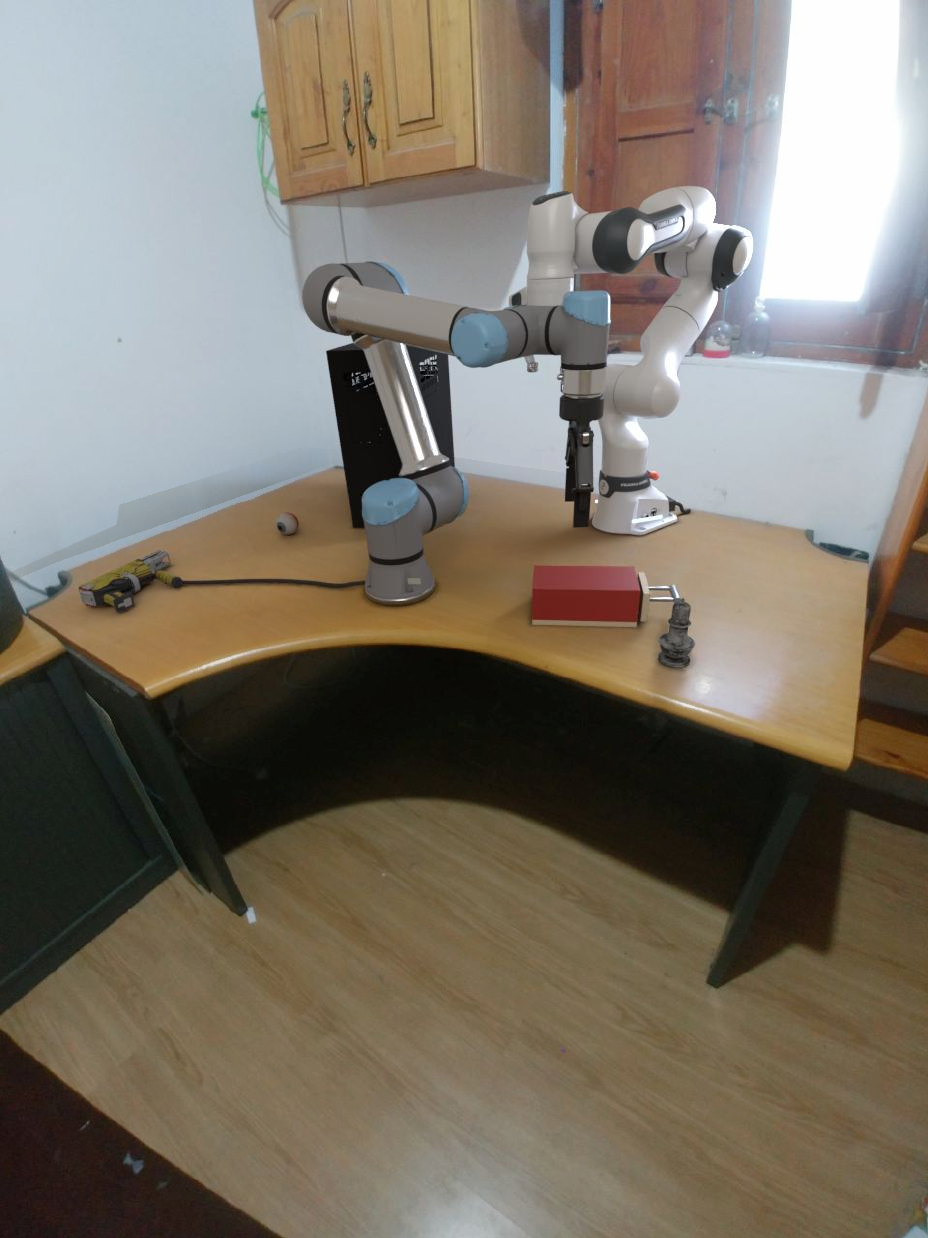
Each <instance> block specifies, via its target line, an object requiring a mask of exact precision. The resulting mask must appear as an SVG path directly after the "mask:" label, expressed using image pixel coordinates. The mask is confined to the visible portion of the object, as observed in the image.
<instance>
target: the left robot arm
mask: <svg viewBox="0 0 928 1238" xmlns="http://www.w3.org/2000/svg"><path fill="white" fill-rule="evenodd" d="M301 298H302V299H301V300H302V306H303V308H304V311H305V314H306V316H307V317H308V319H309V320H310V322H311V323H312V324H313V325H314V326H316V327H317V328H319V330H321V331H324V332H326V333H331V334H336V335H340V336H343V337H351V340H352V343H354V345H355V346H357V347H358V348H360V349H362V350H363V351H364V353H365V356H366V359H367V362H368V365H369V368H370V371H371V373H370V374H372V375H371V377H373V379H374V382H375V385H376V388H377V391H378V394H379V397H380V400H381V403H382V406H383V409H384V412H385V415H386V418H387V421H388V424H389V427H390V430H391V433H392V436H393V439H394V442H395V444H396V447H397V450H398V453H399V456H400V459H401V462H402V468H401V470H400V472H399V478H393V479H390V480H388V481H386V480H384V481H381V482H378V483H376V484H374V485H372V486H370V487H369V488H368V489H367V490H366V491H365V492H364V494H363V496H362V516H363V520H364V526H365V528H364V531H365V532H364V533H365V539H366V543H367V544H366V545H367V551H368V560H369V562H368V567H367V571H366V572H367V573H366V577H365V580H358V581H349V582H342V583H340V582H339V583H338V582H337V583H336V582H333V583H332V582H325V581H318V580H307V579H295V578H294V579H293V578H236V579H235V578H234V579H208V580H182V585H190V586H191V585H224V584H226V585H227V584H247V583H248V584H252V583H253V584H254V583H257V584H259V583H266V584H267V583H271V584H272V583H277V584H279V583H281V584H299V585H312V586H320V587H327V588H348V587H353V586H354V587H355V586H364V590H365V596H366V598H367V599H368V600H369V601H371V602H372V603H375V604H378V605H381V606H387V607H401V606H407V605H408V606H409V605H412V604H416V603H419V602H422V601H425V600H426V599H427V598H429V597H430V596H432V595H433V593H434V592H435V589H436V582H435V576H434V574H433V572H432V570H431V568H430V567H431V566H430V565H429V563H428V561H427V559H426V556H425V554H424V553H425V552H424V543H423V537H424V536H426V535H427V534H430V533H431V532H433V531H435V530H437V529H439V528H441V527H443V526H445V525H448V524H450V523H452V522H454V521H455V520H456V519H457V518H460V517H461V516H462V515H463V514H464V513H465V511H466V509H467V507H468V506H469V502H470V495H471V492H470V486H469V483H468V479H466V476H465V475H464V473H463V472H460V470H459V469H458V468H456V467H455V468H454V467H451V464H450V461H449V458H448V457H446V456H444V455H442V454H441V453H440V452H439V449H438V446H437V442H436V439H435V436H434V433H433V430H432V427H431V424H430V420H429V417H428V414H427V411H426V408H425V405H424V401H423V398H422V395H421V392H420V389H419V386H418V383H417V379H416V376H415V373H414V370H413V367H412V364H411V360H410V357H409V354H408V351H407V348H406V345H410V346H414V347H418V348H422V349H426V350H430V351H434V352H438V353H443V354H447V355H448V356H451V357H455V358H456V359H457V360H458V362H460V363H461V365H463V366H465V367H467V368H471V369H477V368H490V367H493V366H495V365H497V364H501V363H505V362H507V361H512V360H517V359H520V358H524V357H525V356H529V355H534V356H535V355H536V356H560V367H561V371H562V374H560V373H559V374H557V375H556V380H557V381H560V384H559V385H560V389H559V391H560V393H561V396H560V397H559V404H558V405H559V408H558V409H559V410H558V416H559V418H560V419H561V420H563V421H565V422H568V427H567V438H566V448H565V456H564V460H565V466H566V468H565V482H564V483H565V485H564V486H565V487H564V488H565V489H564V502H565V503H566V502H567V503H568V502H569V503H571V502H573V516H572V528H573V529H574V528H576V529H577V528H589V527H590V515H591V514H590V513H591V501H592V500H591V499H592V493H594V490H595V486H594V438H595V433H594V430H593V429H592V427H591V425H590V424H591V423H592V422H593V421H595V422H596V421H598V420H599V419H601V418H602V417H603V413H604V399H605V397H604V396H603V395H602V393H603V392H604V391H605V388H606V375H607V364H608V362H607V361H608V348H609V338H610V326H611V323H612V320H611V296H610V294H609V292H607V291H605V290H601V289H600V290H598V289H597V290H596V289H595V290H593V289H592V290H574V291H573V292H567V293H566V294H565V295H564V297H563V303H562V305H557V306H527V305H516V306H509V305H508V306H506V307H504V308H502V309H500V310H499V309H498V310H486V309H481V308H476V307H469V306H465V305H460V304H455V303H450V302H445V301H442V300H441V301H440V300H436V299H431V298H426V297H420V296H414V295H411V294H410V291H409V288H408V285H407V282H406V281H405V279H404V277H403V275H401V273H400V272H399V271H398V270H397V269H396V268H395V267H393V266H391V265H390V264H388V263H384V262H377V261H371V260H367V261H363V262H344V263H343V262H342V263H340V262H339V263H335V262H334V263H332V262H331V263H326V264H323V265H319V266H318V267H316V268H315V269H314V270H312V271H311V272H310V273H309V274H308V275H307V277H306V279H305V281H304V285H303V287H302V293H301ZM405 344H406V345H405ZM164 584H166V585H168V584H167V583H164Z"/></svg>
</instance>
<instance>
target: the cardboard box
mask: <svg viewBox="0 0 928 1238" xmlns="http://www.w3.org/2000/svg"><path fill="white" fill-rule="evenodd" d="M405 345H406V344H405ZM406 348H407V351H408V354H409V357H410V360H411V364H412V367H413V370H414V373H415V376H416V379H417V383H418V386H419V389H420V392H421V395H422V398H423V401H424V405H425V408H426V411H427V414H428V417H429V420H430V424H431V427H432V430H433V433H434V436H435V439H436V442H437V446H438V449H439V452H440V453H441V454H442V455H444V456H446V457H448V458H449V461H450V464H451V467H454V468H456V465H455V464H456V462H455V446H454V430H453V429H454V428H453V414H452V413H453V412H452V396H451V380H450V364H449V363H450V362H449V361H450V360H449V355H447V354H443V353H438V352H434V351H430V350H426V349H422V348H418V347H414V346H410V345H406ZM325 354H326V361H327V366H328V374H329V381H330V386H331V392H332V400H333V406H334V407H333V408H334V412H335V421H336V426H337V432H338V439H339V446H340V452H341V459H342V465H343V473H344V478H345V484H346V492H347V499H348V504H349V510H350V517H351V524H352V528H364V529H365V526H364V520H363V516H362V496H363V494H364V492H365V491H366V490H367V489H368V488H369V487H370V486H372V485H374V484H376V483H378V482H381V481H384V480H386V481H388V480H390V479H393V478H399V472H400V470H401V468H402V462H401V459H400V456H399V453H398V450H397V447H396V444H395V442H394V439H393V436H392V433H391V430H390V427H389V424H388V421H387V418H386V415H385V412H384V409H383V406H382V403H381V400H380V397H379V394H378V391H377V388H376V385H375V382H374V379H373V377H372V374H371V371H370V368H369V365H368V362H367V359H366V356H365V353H364V351H363V350H362V349H360V348H358V347H357V346H355V345H354V343H353V342H351V343H347V344H344V345H341V346H338V347H334V348H331V349H328V350H325ZM430 358H431V359H430ZM425 362H426V363H425ZM421 363H423V364H421Z"/></svg>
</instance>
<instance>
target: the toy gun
mask: <svg viewBox="0 0 928 1238" xmlns="http://www.w3.org/2000/svg"><path fill="white" fill-rule="evenodd" d="M166 558H167V559H168V562H167V561H163V559H166ZM171 564H172V563H171V558H170V554H169V552H168V551H166V550H163V551H162V550H161V549H159V550H156V551H155V552H153V553H150V554H148V555H145V556H143V557H142V558H136V559H135V560H133V561H130V562H129V563H126V564H124V565H122V566H120V567H118V568H115V569H113V570H111V571H109V572H107V573H104V574H102V575H101V576H97V577H96V578H93V579H91V580H89V581H87V582H85V583H83V584H81V585H79V586H78V592H79V595H80V599H81V602H82V603H83V604H84V605H85V607H89V608H93V607H105V606H108V605H111V606H112V607H114V610H115V613H116V614H119V613H122V612H124V611H127V610H129V609H131V608H134V607H136V606H135V605H136V604H135V601H134V596H133V595H134V594H136V593H138V592H139V591H141V587H142V586H145V585H147V584H150V583H154V581H155V580H157V581H160V582H162V583H164V584H165V583H167V584H166V585H168V586H172V588H175V589H177V588H180V587H181V586H182V585H183V584H182V581H183V579H182V578H181V577H180V576H175V575H174V574H170V573H168V572H167V571H164V568H166V567H169V566H171Z"/></svg>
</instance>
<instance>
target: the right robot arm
mask: <svg viewBox="0 0 928 1238" xmlns="http://www.w3.org/2000/svg"><path fill="white" fill-rule="evenodd" d="M715 216H716V201H715V198H714V196H713V194H712V193H711V192H710V190H708V189H707V188H705V187H702V186H697V185H682V186H674V187H669V188H666V189H662V190H659V191H658V192H655V193H653V194H652V195H650V196H648V197H647V198H645V199H644V200H643V201H642V202H641V203H640V205H639V207H638V208H635V207H632V206H626V207H623V208H618V209H614V210H608V211H601V212H600V211H599V212H594V213H589V212H588V211H586V210H584V209H583V208H581V207H580V206H579V205H578V204H577V202H576V201H575V198H574V194H573V192H571V191H568V190H562V191H557V192H552V193H548V194H547V193H546V194H544V195H543V194H542V195H540V196H538V197H536V198H535V199H534V200H533V201H532V202H531V204H530V206H529V211H528V215H527V224H526V225H527V226H526V255H527V260H528V261H527V262H528V270H527V274H526V286H524V287H522V288H521V289H519V290H517V291H515V292H513V293H512V294H510V295H509V297H508V307H509V306H516V305H527V306H557V305H562V303H563V297H564V295H565V294H566V293H567V292H573V291H575V290H574V289H575V275H583V274H584V275H585V274H589V275H590V274H607V273H608V274H619V275H626V274H629V273H630V272H633V271H634V270H636V268H637V267H639V265H640V264H641V263H642V262H643V261H644V260H645V259H646V258H647V257H648V256H649V255H651V254H653V261H654V265H655V268H656V270H657V272H658V273H659V274H661V275H663V276H665V277H668V278H672V279H673V278H676V279H680V283H679V285H678V288H677V290H676V291H674V292H673V294H671V296H670V297H668V299H667V300H666V302H665V303H664V304H663V306H662V307H661V308H660V310H659V311H658V313H656V315H655V316H654V318H653V319H652V321H650V324H648V326H647V328H646V329H645V330H644V331H643V333H642V334H641V337H640V341H639V342H640V343H639V344H640V351H641V353H642V355H643V357H642V358H641V360H640V361H639V362H638V363H636V364H635V365H629V364H622V363H607V375H606V388H605V391H604V392H603V393H602V395H603V396H604V397H605V399H604V413H603V417H602V418H601V419H599V420H597V422H598V425H599V429H600V436H601V441H602V442H601V443H602V444H601V445H602V447H601V468H600V470H599V474H598V492H599V493H598V498H597V499H595V500H594V503H595V504H596V507H595V511H594V514H593V517H592V520H591V525H592V526H593V527H594V528H595V529H597V530H599V531H601V532H605V533H611V534H623V535H625V534H626V535H632V536H633V535H634V536H645V535H646V534H650V533H652V532H654V531H657V530H660V529H662V528H665V527H668V526H670V525H672V524H675V523H677V522H678V516H677V515H676V514H675V513H674V512H675V511H676V507H679V512H680V513H682V514H685V515H686V514H688V513H691V512H692V510H691V508H687V509H684V505H683V504H682V503H681V502H679V501H677V500H676V499H673V498H671V497H670V496H668V495H666V494H664V493H663V492H661V491H660V490H659V489H658V488H656V487H655V486H654V485H652V483H651V480H653V481H658V479H659V478H660V473H659V472H657V471H654V470H651V471H649V470H648V469H647V466H648V458H649V457H648V456H649V446H650V442H649V437H648V435H647V434H646V433H645V432H644V431H643V430H642V428H641V427H640V424H639V422H638V419H639V418H640V419H645V420H649V419H650V420H651V419H663V418H666V417H668V416H670V414H672V413H673V412H674V411H675V409H676V408H677V406H678V404H679V402H680V399H681V395H682V388H681V383H680V379H679V378H678V371H679V367H680V365H681V363H682V361H683V360H684V358H685V356H686V355H687V354H688V353H689V350H690V349H691V348H692V346H693V345H694V343H695V342H696V341H697V339H698V338H699V336H700V335H701V334H702V332H703V330H704V329H705V327H706V326H707V324H708V322H709V321H710V318H711V317H712V315H713V313H714V311H715V309H716V306H717V304H718V293H721V292H724V291H726V290H728V289H729V288H730V287H731V286H732V284H733V283H735V282H736V281H738V279H739V278H740V277H741V276H742V275H743V274H744V272H745V271H746V270H747V269H748V267H749V265H750V263H751V260H752V257H753V253H754V240H753V236H752V233H751V232H750V230H747V228H744V227H741V226H738V225H731V226H730V225H724V224H718V223H713V222H714V219H715ZM523 358H524V360H525V363H526V371H527V373H537V372H539V362H536V360H535V355H529V356H525V357H523ZM559 374H562V371H561V366H559Z"/></svg>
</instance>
